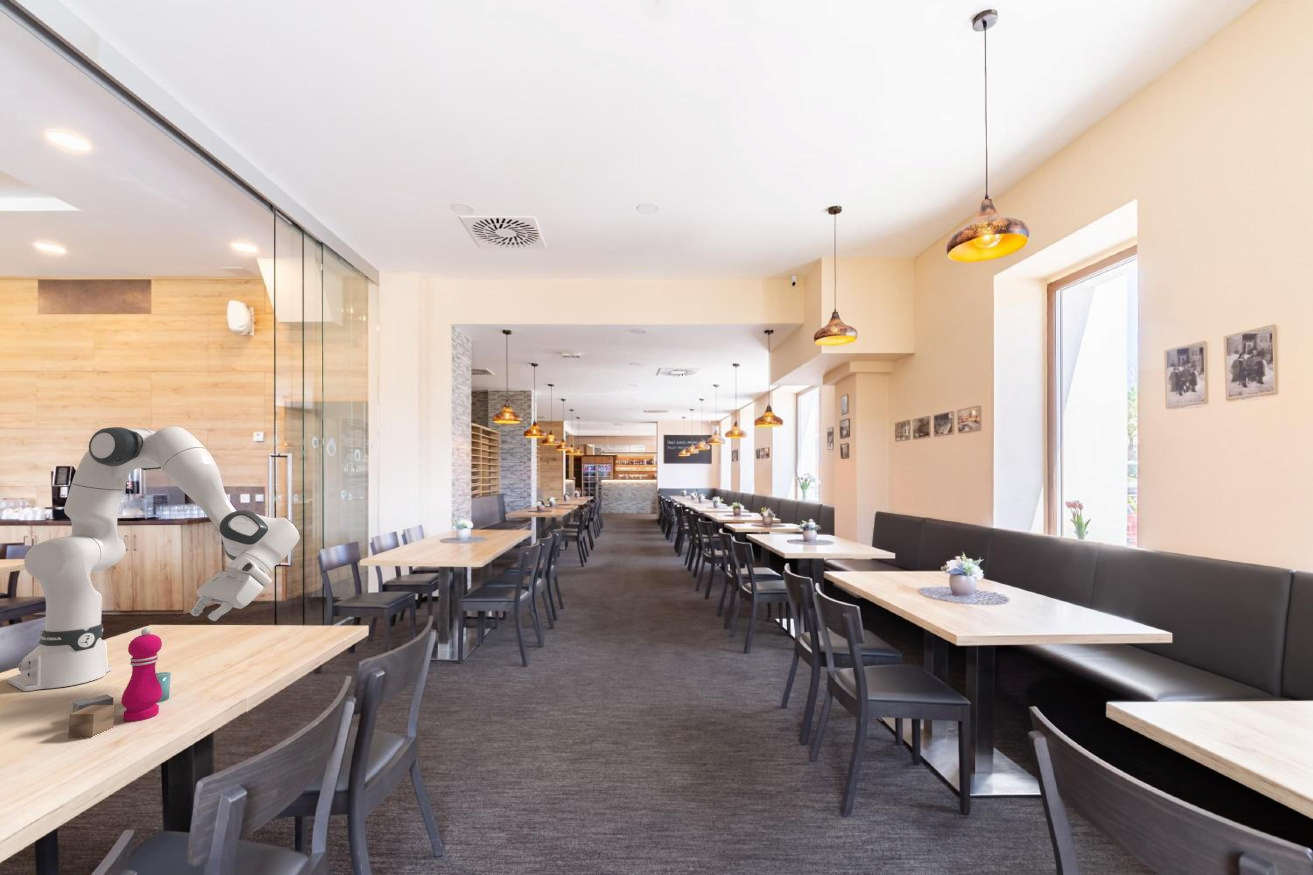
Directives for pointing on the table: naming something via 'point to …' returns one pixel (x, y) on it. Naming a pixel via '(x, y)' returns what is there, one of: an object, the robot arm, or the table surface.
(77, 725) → the walnut block
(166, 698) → the teal glazed cylinder
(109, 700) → the charcoal block
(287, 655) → the table surface
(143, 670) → the pepper mill
